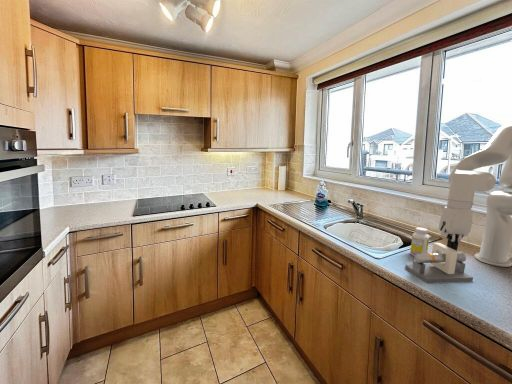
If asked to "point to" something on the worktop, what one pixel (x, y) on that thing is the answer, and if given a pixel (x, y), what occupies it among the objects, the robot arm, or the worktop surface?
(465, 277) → the base board
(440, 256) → the pipe
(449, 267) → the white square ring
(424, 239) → the supplement bottle
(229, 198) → the worktop surface
